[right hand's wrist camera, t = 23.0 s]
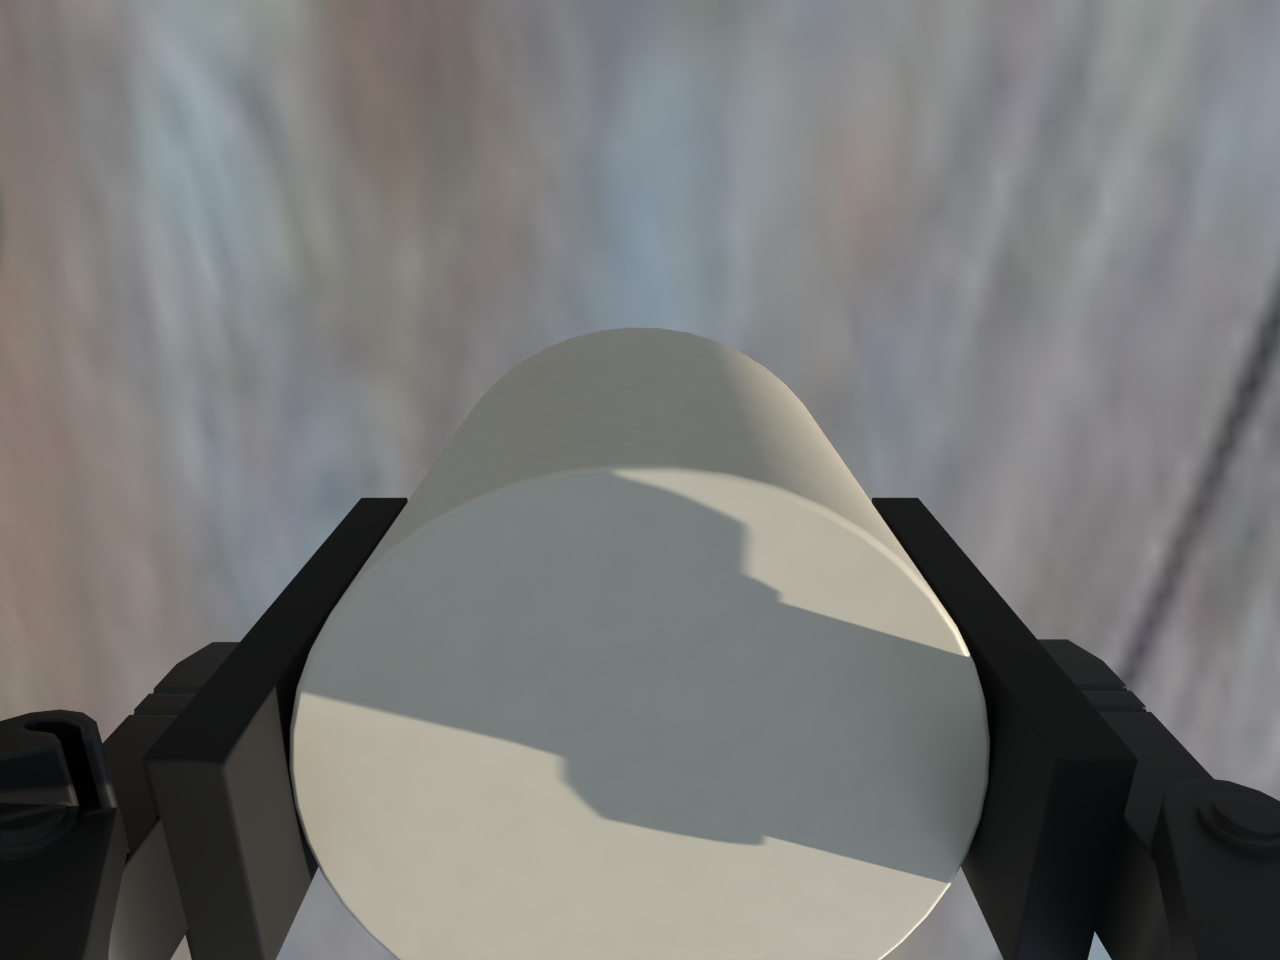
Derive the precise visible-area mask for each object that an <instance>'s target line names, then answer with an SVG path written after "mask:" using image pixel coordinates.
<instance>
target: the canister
mask: <svg viewBox="0 0 1280 960" xmlns="http://www.w3.org/2000/svg"><path fill="white" fill-rule="evenodd" d="M989 755H990V735H989V726H988V718H987V709H986V701H985V698H984V694H983V691H982V687H981V684H980V681H979V677H978V674H977V670H976V667H975V663H974V661H973V659H972V657H971V655H970V653H969V651H968V649H967V647H966V644H965V642H964V640H963V638H962V636H961V634H960V632H959V630H958V628H957V626H956V624H955V623H954V621H953V620H952V619H951V617H950V616H949V614H948V613H947V611H946V610H945V608H944V607H943V605H942V604H941V602H940V601H939V600H938V598H937V597H936V595H935V594H934V592H933V591H932V589H931V588H930V586H929V585H928V584H927V582H926V581H925V579H924V578H923V576H922V575H921V573H920V572H919V571H918V569H917V568H916V566H915V565H914V563H913V562H912V560H911V559H910V558H909V556H908V555H907V553H906V552H905V550H904V549H903V547H902V546H901V545H900V543H899V542H898V540H897V539H896V537H895V536H894V534H893V533H892V532H891V530H890V529H889V527H888V526H887V524H886V523H885V521H884V520H883V519H882V517H881V516H880V514H879V513H878V511H877V510H876V508H875V507H874V506H873V504H872V503H871V501H870V500H869V498H868V497H867V495H866V494H865V493H864V491H863V490H862V488H861V487H860V485H859V484H858V482H857V481H856V480H855V478H854V477H853V475H852V474H851V472H850V471H849V469H848V468H847V467H846V465H845V464H844V462H843V461H842V459H841V458H840V456H839V455H838V454H837V452H836V451H835V449H834V448H833V446H832V445H831V443H830V442H829V441H828V439H827V438H826V436H825V435H824V433H823V432H822V430H821V429H820V428H819V426H818V425H817V423H816V422H815V420H814V419H813V418H812V416H811V415H810V413H809V412H808V410H807V409H806V407H805V406H804V405H803V403H802V402H801V401H800V400H799V399H798V398H797V397H796V396H795V395H794V393H793V392H792V391H791V390H790V389H789V388H788V387H787V386H786V385H785V384H784V383H783V382H782V381H781V380H779V379H778V378H777V377H776V376H775V375H773V374H772V373H771V372H770V371H768V370H767V369H766V368H765V367H763V366H762V365H760V364H759V363H757V362H755V361H754V360H752V359H751V358H749V357H747V356H746V355H744V354H742V353H741V352H739V351H736V350H734V349H732V348H730V347H727V346H725V345H723V344H721V343H719V342H716V341H714V340H710V339H707V338H703V337H700V336H697V335H693V334H690V333H685V332H679V331H673V330H666V329H660V328H624V329H614V330H605V331H599V332H595V333H591V334H587V335H583V336H579V337H575V338H572V339H569V340H567V341H564V342H562V343H559V344H557V345H554V346H551V347H549V348H547V349H545V350H543V351H541V352H540V353H538V354H536V355H534V356H532V357H530V358H529V359H527V360H525V361H523V362H522V363H521V364H519V365H518V366H517V367H515V368H514V369H513V370H511V371H510V372H509V373H507V374H506V375H505V376H503V377H502V378H501V379H500V380H499V381H498V382H497V383H496V384H495V385H494V386H493V387H492V388H491V389H490V390H489V391H488V392H487V393H486V394H485V395H484V396H483V397H482V398H481V399H480V401H479V402H478V403H477V404H476V406H475V407H474V408H473V410H472V411H471V412H470V414H469V415H468V416H467V418H466V419H465V420H464V422H463V423H462V425H461V426H460V428H459V429H458V431H457V432H456V433H455V435H454V436H453V438H452V439H451V441H450V442H449V444H448V445H447V446H446V448H445V449H444V451H443V452H442V454H441V455H440V456H439V458H438V459H437V461H436V462H435V464H434V465H433V467H432V468H431V469H430V471H429V472H428V474H427V475H426V477H425V478H424V479H423V481H422V482H421V484H420V485H419V487H418V488H417V490H416V491H415V492H414V494H413V495H412V497H411V498H410V500H409V501H408V502H407V504H406V505H405V507H404V508H403V510H402V511H401V513H400V514H399V515H398V517H397V518H396V520H395V521H394V523H393V524H392V526H391V527H390V528H389V530H388V531H387V533H386V534H385V536H384V537H383V538H382V540H381V541H380V543H379V544H378V546H377V547H376V549H375V550H374V551H373V553H372V554H371V556H370V557H369V559H368V560H367V561H366V563H365V564H364V566H363V567H362V569H361V570H360V572H359V573H358V574H357V576H356V577H355V579H354V580H353V582H352V583H351V584H350V586H349V587H348V589H347V590H346V592H345V593H344V595H343V596H342V597H341V599H340V600H339V602H338V603H337V605H336V606H335V608H334V609H333V610H332V612H331V613H330V615H329V617H328V619H327V620H326V622H325V624H324V626H323V628H322V630H321V631H320V633H319V635H318V637H317V639H316V641H315V642H314V644H313V646H312V648H311V650H310V652H309V655H308V658H307V661H306V664H305V666H304V669H303V672H302V675H301V678H300V681H299V684H298V686H297V690H296V696H295V701H294V707H293V713H292V718H291V724H290V774H291V780H292V787H293V794H294V801H295V806H296V809H297V813H298V816H299V819H300V822H301V825H302V829H303V832H304V835H305V838H306V841H307V843H308V845H309V847H310V849H311V851H312V853H313V856H314V858H315V860H316V862H317V864H318V866H319V868H320V870H321V872H322V874H323V876H324V877H325V879H326V880H327V882H328V883H329V885H330V886H331V887H332V889H333V890H334V892H335V893H336V895H337V896H338V898H339V899H340V901H341V902H342V904H343V905H344V906H345V908H346V909H347V910H348V911H349V912H350V913H351V914H352V915H353V917H354V918H355V919H356V920H357V921H358V922H359V923H360V925H361V926H362V927H363V928H364V929H365V930H366V931H367V933H369V934H370V935H371V936H372V937H373V938H374V939H375V940H376V941H378V942H379V943H380V944H381V945H382V946H383V947H384V948H385V949H387V950H388V951H389V952H390V953H391V954H392V955H393V956H394V957H396V958H397V959H398V960H881V959H882V958H883V957H884V956H885V955H887V954H888V953H889V952H890V951H892V950H893V949H894V948H895V947H897V946H898V945H899V944H900V943H901V942H902V941H903V940H904V939H905V938H906V937H907V936H908V935H909V934H910V933H911V932H912V931H913V930H914V929H915V928H916V927H917V926H918V925H919V924H920V923H921V922H922V921H923V920H924V919H925V918H926V917H927V915H928V914H929V913H930V912H931V910H932V909H933V907H934V906H935V905H936V903H937V902H938V901H939V899H940V898H941V897H942V895H943V894H944V893H945V891H946V890H947V889H948V887H949V886H950V884H951V883H952V881H953V879H954V877H955V875H956V873H957V872H958V870H959V868H960V866H961V864H962V863H963V861H964V859H965V857H966V855H967V853H968V851H969V848H970V846H971V843H972V840H973V838H974V835H975V832H976V830H977V827H978V824H979V822H980V819H981V815H982V810H983V805H984V800H985V795H986V790H987V786H988V777H989Z"/></svg>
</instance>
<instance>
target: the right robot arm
mask: <svg viewBox="0 0 1280 960" xmlns="http://www.w3.org/2000/svg"><path fill="white" fill-rule="evenodd" d="M407 502H408V501H407V498H361V499H360V500H359V501H358V503H357V504H356V505H355V506H354V507H353V509H352V510H351V511H350V512H349V513H348V515H347V516H346V517H345V518H344V519H343V520H342V522H341V523H340V524H339V525H338V526H337V528H336V529H335V530H334V531H333V532H332V534H331V535H330V536H329V537H328V538H327V539H326V541H325V542H324V543H323V544H322V545H321V547H320V548H319V549H318V550H317V551H316V553H315V554H314V555H313V556H312V557H311V558H310V560H309V561H308V562H307V563H306V564H305V566H304V567H303V568H302V569H301V570H300V572H299V573H298V574H297V575H296V576H295V577H294V579H293V580H292V581H291V582H290V583H289V585H288V586H287V587H286V588H285V589H284V591H283V592H282V593H281V594H280V595H279V596H278V598H277V599H276V600H275V601H274V602H273V604H272V605H271V606H270V607H269V608H268V610H267V611H266V612H265V613H264V614H263V615H262V617H261V618H260V619H259V620H258V621H257V623H256V624H255V625H254V626H253V627H252V629H251V630H250V631H249V632H248V633H247V634H246V636H245V637H244V638H243V639H242V640H241V642H212V643H210V644H209V645H207V646H206V647H204V648H202V649H201V650H199V651H197V652H196V653H194V654H192V655H191V656H189V657H187V658H186V659H184V660H182V661H181V662H179V663H177V664H176V665H175V666H174V668H173V669H172V670H171V671H170V672H169V673H168V674H167V675H166V676H165V677H164V678H163V679H162V680H161V681H160V683H159V684H158V685H157V686H156V687H155V688H154V693H153V694H148V695H147V696H146V698H145V699H144V700H143V701H142V702H141V703H140V704H139V705H138V706H137V707H136V708H135V709H134V715H129V716H128V717H127V718H126V719H125V720H124V721H123V722H122V723H121V724H120V725H119V727H118V728H117V729H116V730H115V731H114V732H113V733H112V734H111V735H110V736H109V737H108V738H107V739H106V740H105V742H104V743H103V744H102V741H101V737H100V734H99V730H98V726H97V723H96V721H94V720H93V719H92V718H90V717H89V716H87V715H86V714H84V713H82V712H74V711H67V710H52V711H42V712H33V713H28V714H24V715H21V716H17V717H14V718H10V719H7V720H3V721H0V960H170V959H171V957H172V956H173V954H174V952H175V951H176V949H177V947H178V946H179V944H180V942H181V941H182V939H183V937H184V936H185V934H186V938H187V942H188V946H189V950H190V954H191V958H192V960H276V958H277V956H278V953H279V951H280V949H281V947H282V945H283V943H284V940H285V938H286V936H287V934H288V932H289V929H290V927H291V925H292V923H293V921H294V919H295V916H296V914H297V912H298V910H299V908H300V906H301V903H302V901H303V899H304V897H305V895H306V892H307V890H308V888H309V886H310V884H311V882H312V879H313V877H314V875H315V873H316V871H317V869H318V864H317V862H316V860H315V858H314V856H313V853H312V851H311V849H310V847H309V845H308V843H307V841H306V838H305V835H304V832H303V829H302V825H301V822H300V819H299V816H298V813H297V809H296V806H295V801H294V794H293V787H292V780H291V774H290V724H291V718H292V713H293V707H294V701H295V696H296V690H297V686H298V684H299V681H300V678H301V675H302V672H303V669H304V666H305V664H306V661H307V658H308V655H309V652H310V650H311V648H312V646H313V644H314V642H315V641H316V639H317V637H318V635H319V633H320V631H321V630H322V628H323V626H324V624H325V622H326V620H327V619H328V617H329V615H330V613H331V612H332V610H333V609H334V608H335V606H336V605H337V603H338V602H339V600H340V599H341V597H342V596H343V595H344V593H345V592H346V590H347V589H348V587H349V586H350V584H351V583H352V582H353V580H354V579H355V577H356V576H357V574H358V573H359V572H360V570H361V569H362V567H363V566H364V564H365V563H366V561H367V560H368V559H369V557H370V556H371V554H372V553H373V551H374V550H375V549H376V547H377V546H378V544H379V543H380V541H381V540H382V538H383V537H384V536H385V534H386V533H387V531H388V530H389V528H390V527H391V526H392V524H393V523H394V521H395V520H396V518H397V517H398V515H399V514H400V513H401V511H402V510H403V508H404V507H405V505H406V504H407ZM872 504H873V506H874V507H875V508H876V510H877V511H878V513H879V514H880V516H881V517H882V519H883V520H884V521H885V523H886V524H887V526H888V527H889V529H890V530H891V532H892V533H893V534H894V536H895V537H896V539H897V540H898V542H899V543H900V545H901V546H902V547H903V549H904V550H905V552H906V553H907V555H908V556H909V558H910V559H911V560H912V562H913V563H914V565H915V566H916V568H917V569H918V571H919V572H920V573H921V575H922V576H923V578H924V579H925V581H926V582H927V584H928V585H929V586H930V588H931V589H932V591H933V592H934V594H935V595H936V597H937V598H938V600H939V601H940V602H941V604H942V605H943V607H944V608H945V610H946V611H947V613H948V614H949V616H950V617H951V619H952V620H953V621H954V623H955V624H956V626H957V628H958V630H959V632H960V634H961V636H962V638H963V640H964V642H965V644H966V647H967V649H968V651H969V653H970V655H971V657H972V659H973V661H974V663H975V667H976V670H977V674H978V677H979V681H980V684H981V687H982V691H983V694H984V698H985V701H986V709H987V718H988V726H989V735H990V755H989V777H988V786H987V790H986V795H985V800H984V805H983V810H982V815H981V819H980V822H979V824H978V827H977V830H976V832H975V835H974V838H973V840H972V843H971V846H970V848H969V851H968V853H967V855H966V857H965V859H964V861H963V863H962V864H961V868H962V870H963V872H964V874H965V876H966V878H967V881H968V883H969V885H970V887H971V889H972V891H973V894H974V896H975V898H976V900H977V902H978V905H979V907H980V909H981V911H982V913H983V915H984V918H985V920H986V922H987V924H988V926H989V929H990V931H991V933H992V935H993V937H994V939H995V942H996V944H997V946H998V948H999V950H1000V952H1001V955H1002V957H1003V959H1004V960H1088V956H1089V952H1090V948H1091V944H1092V940H1093V936H1094V932H1096V934H1097V936H1098V937H1099V939H1100V941H1101V942H1102V944H1103V946H1104V947H1105V949H1106V951H1107V952H1108V954H1109V956H1110V957H1111V959H1112V960H1280V801H1278V800H1276V799H1274V798H1272V797H1270V796H1268V795H1267V794H1265V793H1263V792H1261V791H1258V790H1255V789H1252V788H1249V787H1245V786H1242V785H1239V784H1236V783H1233V782H1230V781H1223V780H1215V779H1213V778H1212V777H1211V775H1210V774H1209V773H1208V772H1207V771H1206V770H1205V769H1204V768H1203V767H1202V766H1201V765H1200V764H1199V763H1198V762H1197V761H1196V759H1195V758H1194V757H1193V756H1192V755H1191V754H1190V753H1189V752H1188V751H1187V750H1186V749H1185V748H1184V747H1183V746H1182V745H1181V744H1180V742H1179V741H1178V740H1177V739H1176V738H1175V737H1174V736H1173V735H1172V734H1171V733H1170V732H1169V731H1168V730H1167V729H1166V728H1165V726H1164V725H1163V724H1162V723H1161V722H1160V721H1159V720H1158V719H1157V718H1156V717H1155V716H1154V715H1153V714H1152V713H1151V712H1146V706H1145V705H1144V704H1143V703H1142V702H1141V701H1140V700H1139V699H1138V698H1137V697H1136V696H1135V695H1134V693H1133V692H1132V691H1127V689H1126V685H1125V684H1124V683H1123V682H1122V681H1121V680H1120V679H1119V677H1118V676H1117V675H1116V674H1115V673H1114V672H1113V671H1112V670H1111V669H1110V668H1109V667H1108V666H1107V665H1106V664H1105V663H1104V661H1102V660H1101V659H1099V658H1097V657H1096V656H1094V655H1092V654H1091V653H1089V652H1087V651H1086V650H1084V649H1082V648H1081V647H1079V646H1077V645H1076V644H1074V643H1072V642H1071V641H1069V640H1037V639H1036V638H1035V636H1034V635H1033V634H1032V633H1031V632H1030V630H1029V629H1028V628H1027V627H1026V626H1025V625H1024V623H1023V622H1022V621H1021V620H1020V619H1019V617H1018V616H1017V615H1016V614H1015V613H1014V611H1013V610H1012V609H1011V608H1010V607H1009V606H1008V604H1007V603H1006V602H1005V601H1004V600H1003V598H1002V597H1001V596H1000V595H999V594H998V592H997V591H996V590H995V589H994V588H993V586H992V585H991V584H990V583H989V582H988V581H987V579H986V578H985V577H984V576H983V575H982V573H981V572H980V571H979V570H978V569H977V567H976V566H975V565H974V564H973V563H972V562H971V560H970V559H969V558H968V557H967V556H966V554H965V553H964V552H963V551H962V550H961V548H960V547H959V546H958V545H957V544H956V543H955V541H954V540H953V539H952V538H951V537H950V535H949V534H948V533H947V532H946V531H945V529H944V528H943V527H942V526H941V525H940V524H939V522H938V521H937V520H936V519H935V518H934V516H933V515H932V514H931V513H930V512H929V510H928V509H927V508H926V507H925V506H924V505H923V503H922V502H921V501H920V500H919V499H918V498H872Z"/></svg>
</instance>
